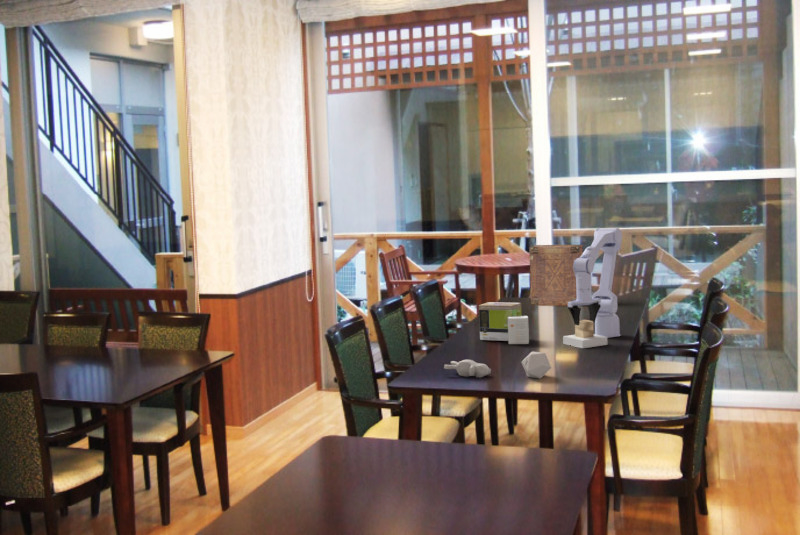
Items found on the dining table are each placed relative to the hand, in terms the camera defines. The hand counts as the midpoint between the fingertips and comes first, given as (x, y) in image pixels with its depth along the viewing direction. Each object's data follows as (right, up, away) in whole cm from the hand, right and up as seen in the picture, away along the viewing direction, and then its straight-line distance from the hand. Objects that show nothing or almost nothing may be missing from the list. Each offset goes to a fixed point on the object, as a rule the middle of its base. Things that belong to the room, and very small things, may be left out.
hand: (584, 323), depth 344 cm
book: (+8, +3, +107) cm, 107 cm away
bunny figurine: (-49, -15, -44) cm, 67 cm away
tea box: (-30, -8, +18) cm, 36 cm away
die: (-26, -15, -50) cm, 59 cm away
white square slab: (0, -8, +1) cm, 8 cm away
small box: (-24, -8, +9) cm, 27 cm away
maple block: (0, -5, +1) cm, 5 cm away
